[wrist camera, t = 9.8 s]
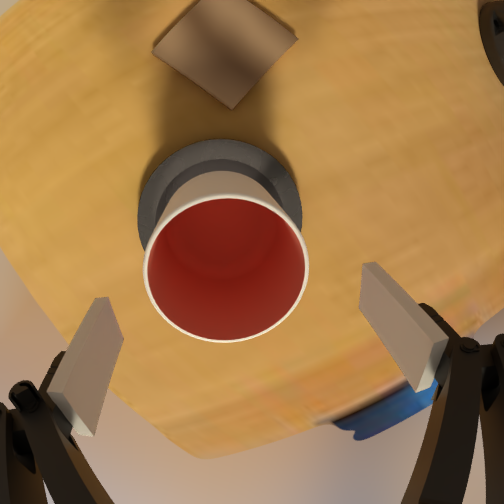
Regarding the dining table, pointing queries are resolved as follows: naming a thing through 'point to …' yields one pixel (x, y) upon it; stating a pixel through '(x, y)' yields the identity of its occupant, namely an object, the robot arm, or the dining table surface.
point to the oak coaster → (224, 47)
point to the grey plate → (208, 160)
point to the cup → (225, 259)
